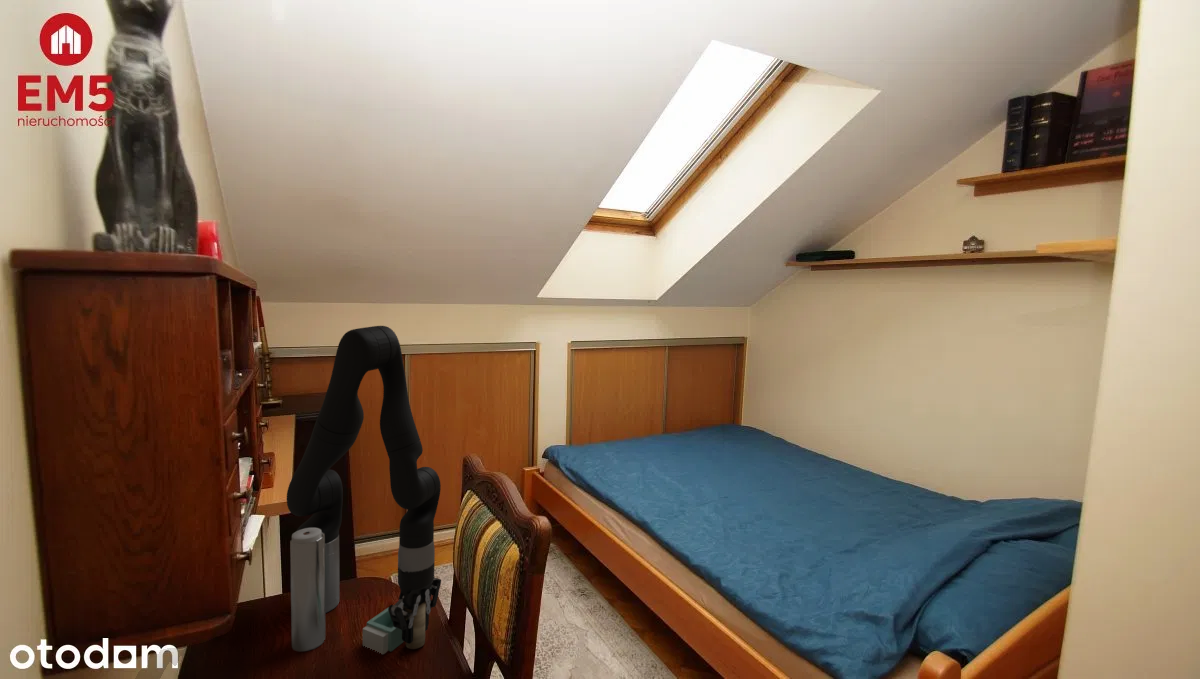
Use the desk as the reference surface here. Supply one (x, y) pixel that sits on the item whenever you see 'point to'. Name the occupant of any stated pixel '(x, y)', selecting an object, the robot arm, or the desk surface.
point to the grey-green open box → (387, 629)
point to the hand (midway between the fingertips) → (415, 635)
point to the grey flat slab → (375, 639)
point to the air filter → (307, 589)
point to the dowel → (418, 627)
